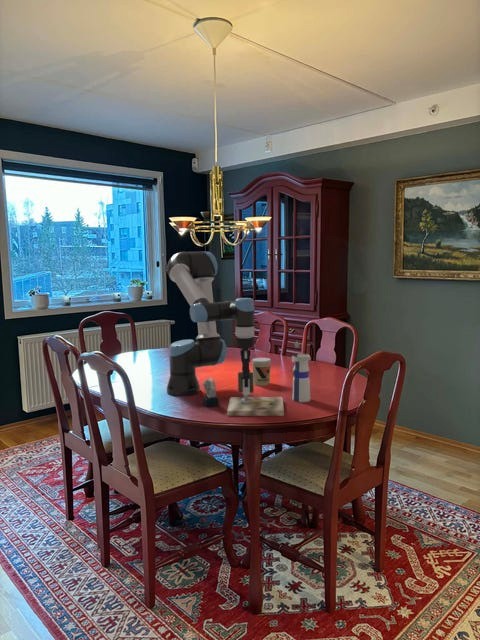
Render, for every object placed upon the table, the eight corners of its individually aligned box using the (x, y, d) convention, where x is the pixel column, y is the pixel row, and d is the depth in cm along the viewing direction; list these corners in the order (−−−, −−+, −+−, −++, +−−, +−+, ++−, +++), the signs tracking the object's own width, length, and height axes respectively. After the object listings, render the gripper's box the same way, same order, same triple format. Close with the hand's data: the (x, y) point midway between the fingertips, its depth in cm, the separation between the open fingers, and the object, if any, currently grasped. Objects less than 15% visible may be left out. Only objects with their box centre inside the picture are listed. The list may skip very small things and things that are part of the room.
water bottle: (286, 399, 207) (286, 342, 204) (299, 395, 213) (299, 339, 210) (302, 403, 202) (302, 344, 198) (314, 399, 208) (314, 341, 204)
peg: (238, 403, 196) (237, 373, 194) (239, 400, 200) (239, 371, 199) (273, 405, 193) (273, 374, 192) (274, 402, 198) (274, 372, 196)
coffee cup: (255, 387, 228) (255, 362, 227) (249, 382, 237) (249, 358, 236) (274, 385, 231) (273, 360, 229) (267, 380, 240) (267, 356, 238)
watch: (214, 401, 207) (213, 376, 206) (220, 406, 200) (219, 380, 198) (201, 402, 205) (201, 377, 204) (207, 408, 198) (206, 382, 196)
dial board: (227, 415, 188) (227, 410, 188) (230, 401, 206) (230, 396, 206) (283, 415, 187) (283, 410, 187) (282, 401, 205) (282, 396, 205)
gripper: (255, 341, 183) (256, 398, 186) (253, 332, 205) (253, 384, 208) (236, 341, 183) (237, 399, 186) (235, 332, 205) (236, 384, 208)
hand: (246, 391), depth 197 cm, fingers open, 9 cm apart
